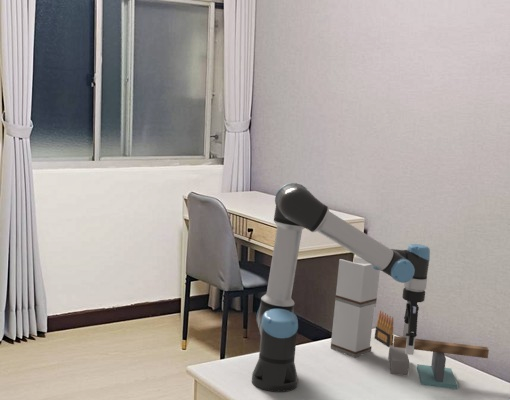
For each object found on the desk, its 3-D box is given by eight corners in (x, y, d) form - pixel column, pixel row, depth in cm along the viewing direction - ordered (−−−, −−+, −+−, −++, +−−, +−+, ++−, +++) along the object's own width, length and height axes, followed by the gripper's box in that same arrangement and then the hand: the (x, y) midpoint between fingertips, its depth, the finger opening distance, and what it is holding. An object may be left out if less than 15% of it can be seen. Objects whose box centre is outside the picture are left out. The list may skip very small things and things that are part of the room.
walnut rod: (393, 347, 245) (394, 338, 245) (393, 344, 248) (394, 336, 248) (487, 358, 241) (488, 350, 241) (486, 355, 244) (487, 347, 244)
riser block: (390, 373, 247) (392, 360, 247) (388, 358, 263) (389, 345, 262) (407, 375, 246) (409, 362, 246) (404, 360, 262) (405, 347, 262)
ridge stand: (421, 384, 239) (424, 356, 238) (416, 368, 255) (420, 341, 254) (457, 389, 238) (460, 361, 236) (450, 372, 253) (453, 345, 252)
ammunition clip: (392, 347, 276) (395, 317, 275) (388, 347, 276) (391, 317, 274) (378, 338, 286) (381, 309, 284) (374, 338, 285) (377, 309, 284)
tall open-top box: (370, 351, 269) (380, 262, 264) (354, 357, 261) (364, 265, 256) (346, 343, 276) (355, 256, 272) (330, 348, 269) (339, 259, 264)
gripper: (401, 279, 256) (394, 335, 259) (406, 296, 232) (399, 358, 234) (421, 281, 255) (415, 337, 258) (429, 299, 231) (422, 361, 234)
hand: (407, 347), depth 246 cm, fingers open, 13 cm apart
